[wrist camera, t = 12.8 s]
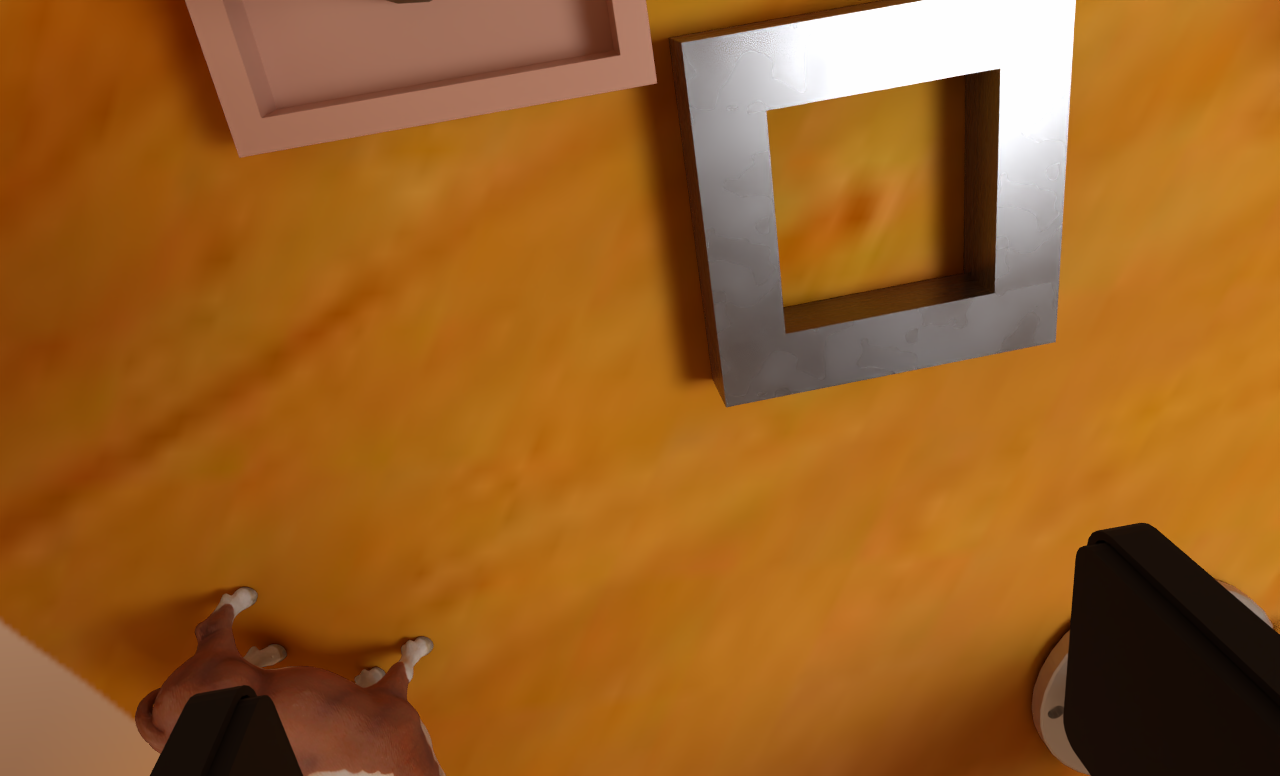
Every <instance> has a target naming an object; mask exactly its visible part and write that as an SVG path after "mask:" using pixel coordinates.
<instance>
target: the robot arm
mask: <svg viewBox="0 0 1280 776" xmlns="http://www.w3.org/2000/svg"><path fill="white" fill-rule="evenodd" d="M1032 714H1033V721H1034V724H1035V727H1036V729H1037V731H1038V733H1039V736H1040V737H1041V739H1042V740H1043V741H1044V743H1045V744H1046V746H1047V747H1048V748H1049V750H1050V751H1051V753H1052V754H1053V755H1054V756H1055V757H1056V758H1057V759H1058V760H1059V761H1061V762H1062V763H1063V764H1064V765H1066V766H1068V767H1070V768H1072V769H1074V770H1076V771H1078V772H1080V773H1084V774H1087V775H1091V776H1280V635H1279V634H1278V633H1277V632H1276V631H1275V630H1274V629H1273V625H1272V623H1271V622H1270V620H1269V618H1268V617H1267V615H1266V613H1265V611H1264V610H1262V609H1261V608H1260V607H1259V606H1258V605H1257V604H1256V603H1255V602H1254V601H1253V600H1251V599H1250V598H1249V597H1248V596H1247V595H1246V594H1244V593H1243V592H1241V591H1240V590H1238V589H1237V588H1235V587H1234V586H1232V585H1229V584H1227V583H1224V582H1221V581H1218V580H1215V579H1214V578H1213V577H1212V576H1211V575H1209V574H1208V573H1207V572H1206V571H1205V570H1204V569H1202V568H1201V567H1200V566H1199V565H1198V564H1197V563H1195V562H1194V561H1193V560H1192V559H1191V558H1190V557H1189V556H1187V555H1186V554H1185V553H1184V552H1183V551H1182V550H1180V549H1179V548H1178V547H1177V546H1176V545H1175V544H1173V543H1172V542H1171V541H1170V540H1169V539H1168V538H1166V537H1165V536H1164V535H1163V534H1162V533H1161V532H1159V531H1158V530H1157V529H1156V528H1154V527H1153V526H1151V525H1150V524H1146V523H1137V524H1132V525H1126V526H1121V527H1115V528H1110V529H1104V530H1099V531H1096V532H1093V533H1092V534H1091V536H1090V537H1089V539H1088V544H1087V546H1083V547H1081V548H1079V550H1078V551H1077V554H1076V561H1075V574H1074V586H1073V599H1072V611H1071V624H1070V630H1069V631H1068V632H1067V633H1066V634H1065V635H1064V636H1063V637H1062V638H1061V640H1060V641H1059V642H1058V643H1057V645H1056V646H1055V647H1054V648H1053V650H1052V651H1051V652H1050V654H1049V656H1048V658H1047V659H1046V661H1045V663H1044V665H1043V666H1042V668H1041V670H1040V672H1039V675H1038V678H1037V681H1036V684H1035V686H1034V690H1033V698H1032ZM150 776H303V774H302V771H301V769H300V766H299V764H298V761H297V759H296V757H295V754H294V752H293V749H292V747H291V744H290V742H289V739H288V737H287V734H286V732H285V729H284V727H283V725H282V722H281V720H280V717H279V715H278V712H277V710H276V707H275V705H274V703H273V701H272V699H271V698H270V697H269V696H268V695H261V696H257V694H256V693H255V691H254V689H252V688H251V687H250V686H248V685H242V686H236V687H231V688H225V689H220V690H214V691H209V692H203V693H198V694H195V695H193V696H192V697H190V698H189V700H188V701H187V703H186V704H185V706H184V708H183V710H182V712H181V714H180V716H179V718H178V720H177V722H176V724H175V726H174V728H173V730H172V732H171V734H170V736H169V738H168V740H167V742H166V744H165V746H164V748H163V750H162V752H161V754H160V756H159V759H158V761H157V763H156V764H155V767H154V768H153V770H152V773H151V774H150Z"/></svg>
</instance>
